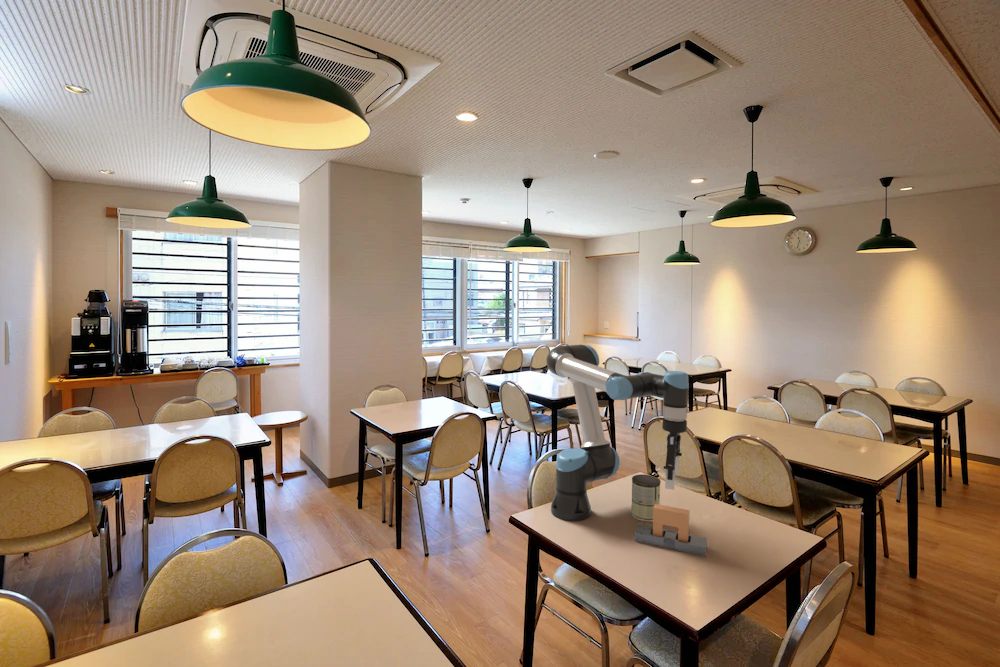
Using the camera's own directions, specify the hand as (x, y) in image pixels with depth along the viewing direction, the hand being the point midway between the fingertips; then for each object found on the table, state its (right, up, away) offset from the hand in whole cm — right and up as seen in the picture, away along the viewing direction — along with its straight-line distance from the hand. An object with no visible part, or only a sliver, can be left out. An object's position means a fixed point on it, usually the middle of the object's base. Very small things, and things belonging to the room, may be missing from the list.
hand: (672, 481), depth 158 cm
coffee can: (-2, -20, +22) cm, 30 cm away
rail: (0, -21, +1) cm, 21 cm away
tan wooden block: (0, -21, +1) cm, 21 cm away
